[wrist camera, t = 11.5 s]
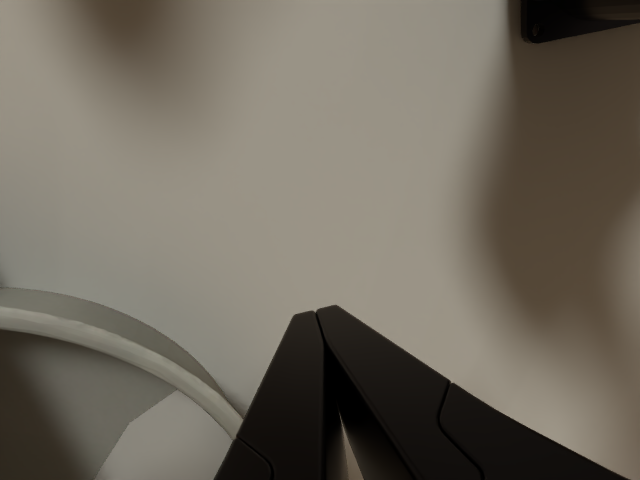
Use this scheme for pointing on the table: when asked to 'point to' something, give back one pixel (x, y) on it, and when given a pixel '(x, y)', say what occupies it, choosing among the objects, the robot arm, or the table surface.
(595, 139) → the table surface
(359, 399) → the robot arm
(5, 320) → the grey round tray
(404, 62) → the table surface
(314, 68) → the table surface
